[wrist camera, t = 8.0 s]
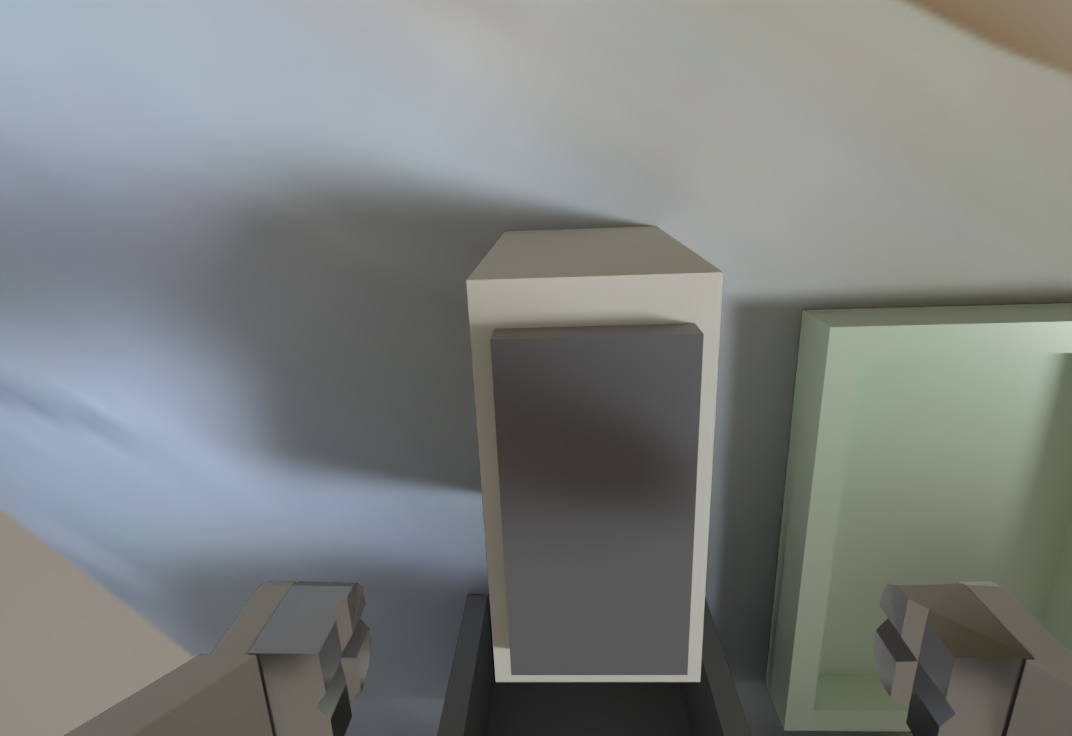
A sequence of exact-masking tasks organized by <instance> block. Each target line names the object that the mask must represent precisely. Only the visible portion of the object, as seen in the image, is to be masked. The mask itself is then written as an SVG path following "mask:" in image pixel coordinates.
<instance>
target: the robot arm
mask: <svg viewBox="0 0 1072 736" xmlns="http://www.w3.org/2000/svg"><path fill="white" fill-rule="evenodd" d="M364 607H365V599H364V594H363V588H362V586H360V585H359V584H358V583H345V582H302V581H298V582H292V581H268V582H266V583H264V584H261V585H260V586H259V587H258V589H257V590H256V592H255V593H254V594H253V596H252V597H251V598H250V600H249V601H248V603H247V604H246V605H245V607H244V608H243V610H242V611H241V612H240V614H239V615H238V616H237V618H236V619H235V621H234V622H233V623H232V625H231V626H230V627H229V629H228V630H227V632H226V633H225V634H224V636H223V637H222V638H221V640H220V641H219V643H218V644H217V645H216V647H215V648H214V650H213V651H212V652H211V654H200V655H198V656H197V657H195V658H193V659H192V660H190V661H188V662H187V663H185V664H183V665H182V666H180V667H178V668H177V669H175V670H173V671H172V672H170V673H168V674H166V675H165V676H163V677H162V678H160V679H158V680H156V681H155V682H153V683H151V684H150V685H148V686H146V687H145V688H143V689H141V690H140V691H138V692H136V693H135V694H133V695H131V696H130V697H128V698H126V699H124V700H123V701H121V702H119V703H118V704H116V705H114V706H113V707H111V708H109V709H108V710H106V711H104V712H103V713H101V714H99V715H98V716H96V717H94V718H93V719H91V720H89V721H88V722H86V723H84V724H83V725H81V726H79V727H78V728H76V729H74V730H72V731H71V732H69V733H67V734H66V735H64V736H344V735H345V733H346V730H347V727H348V725H349V722H350V720H351V717H352V715H351V708H350V701H351V700H352V699H353V698H354V697H355V696H357V695H358V694H359V693H360V692H361V691H362V688H363V685H364V683H365V680H366V677H367V672H368V667H369V661H370V634H369V628H368V627H367V626H366V625H365V624H364V623H363V621H362V620H361V619H360V616H361V614H362V612H363V609H364ZM880 607H881V609H882V610H883V612H884V613H885V614H886V616H887V617H888V619H887V620H886V621H885V622H883V623H882V624H881V625H880V626H879V627H878V628H877V629H876V631H875V639H874V647H873V650H874V657H875V663H876V669H877V671H878V674H879V677H880V679H881V682H882V684H883V686H884V687H885V689H886V691H887V692H888V694H889V696H890V697H891V698H892V699H894V700H895V701H897V702H898V703H900V704H901V705H903V706H904V707H905V708H907V709H908V715H907V720H906V724H907V725H908V727H909V729H910V730H911V732H912V734H913V735H914V736H1072V654H1071V653H1070V652H1069V651H1068V650H1067V649H1066V648H1065V647H1064V646H1063V645H1062V644H1061V643H1060V642H1059V641H1058V640H1057V639H1056V638H1055V637H1054V636H1053V635H1052V634H1051V633H1050V632H1049V631H1048V630H1047V629H1046V628H1044V627H1043V626H1042V625H1041V624H1040V623H1039V622H1038V621H1037V620H1036V619H1035V618H1034V617H1033V616H1032V615H1031V614H1030V613H1029V612H1028V611H1027V610H1026V609H1025V608H1024V607H1023V606H1022V605H1021V604H1020V603H1019V602H1017V601H1016V600H1015V599H1014V598H1013V597H1012V596H1011V595H1010V594H1009V593H1008V592H1007V591H1006V590H1005V589H1004V588H1003V587H1002V586H1000V585H998V584H996V583H994V582H991V581H985V582H956V583H944V584H887V585H886V587H885V588H884V590H883V592H882V596H881V602H880Z"/></svg>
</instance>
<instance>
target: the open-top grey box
mask: <svg viewBox="0 0 1072 736" xmlns="http://www.w3.org/2000/svg"><path fill="white" fill-rule="evenodd" d="M437 736H751V734H750V731H749V728H748V725H747V722H746V719H745V716H744V713H743V710H742V707H741V704H740V701H739V698H738V695H737V692H736V689H735V686H734V683H733V680H732V677H731V673H730V670H729V667H728V664H727V661H726V658H725V655H724V652H723V649H722V646H721V643H720V640H719V637H718V634H717V631H716V628H715V625H714V622H713V619H712V616H711V613H710V610H709V607H708V604H707V601H706V598H705V607H704V625H703V642H702V660H701V678H700V682H680V683H494V681H493V667H492V653H491V640H490V626H489V612H488V598H487V595H468V596H467V600H466V605H465V610H464V614H463V619H462V624H461V628H460V633H459V637H458V642H457V647H456V651H455V656H454V661H453V665H452V670H451V675H450V679H449V684H448V688H447V693H446V698H445V702H444V707H443V712H442V716H441V721H440V725H439V730H438V735H437Z"/></svg>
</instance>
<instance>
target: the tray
mask: <svg viewBox="0 0 1072 736" xmlns="http://www.w3.org/2000/svg"><path fill="white" fill-rule="evenodd" d="M985 581H991V582H994V583H996V584H998V585H1000V586H1002V587H1003V588H1004V589H1005V590H1006V591H1007V592H1008V593H1009V594H1010V595H1011V596H1012V597H1013V598H1014V599H1015V600H1016V601H1017V602H1019V603H1020V604H1021V605H1022V606H1023V607H1024V608H1025V609H1026V610H1027V611H1028V612H1029V613H1030V614H1031V615H1032V616H1033V617H1034V618H1035V619H1036V620H1037V621H1038V622H1039V623H1040V624H1041V625H1042V626H1043V627H1044V628H1046V629H1047V630H1048V631H1049V632H1050V633H1051V634H1052V635H1053V636H1054V637H1055V638H1056V639H1057V640H1058V641H1059V642H1060V643H1061V644H1062V645H1063V646H1064V647H1065V648H1066V649H1067V650H1068V651H1069V652H1070V653H1071V654H1072V303H1055V304H1017V305H978V306H940V307H902V308H863V309H825V310H803V312H802V322H801V332H800V342H799V352H798V362H797V372H796V382H795V392H794V402H793V412H792V422H791V432H790V442H789V452H788V462H787V472H786V482H785V492H784V502H783V512H782V522H781V532H780V543H779V553H778V563H777V573H776V583H775V593H774V603H773V613H772V623H771V633H770V643H769V653H768V663H767V673H766V686H767V689H768V691H769V694H770V696H771V699H772V701H773V704H774V706H775V709H776V712H777V714H778V717H779V719H780V722H781V724H782V727H783V730H784V731H911V730H910V729H909V727H908V725H907V724H906V720H907V715H908V709H907V708H905V707H904V706H903V705H901V704H900V703H898V702H897V701H895V700H894V699H892V698H891V697H890V696H889V694H888V692H887V691H886V689H885V687H884V686H883V684H882V682H881V679H880V677H879V674H878V671H877V669H876V663H875V657H874V650H873V647H874V639H875V631H876V629H877V628H878V627H879V626H880V625H881V624H882V623H883V622H885V621H886V620H887V619H888V617H887V616H886V614H885V613H884V612H883V610H882V609H881V607H880V602H881V596H882V592H883V590H884V588H885V587H886V585H887V584H944V583H956V582H985Z"/></svg>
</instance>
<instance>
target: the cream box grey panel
mask: <svg viewBox="0 0 1072 736" xmlns="http://www.w3.org/2000/svg"><path fill="white" fill-rule="evenodd" d="M466 285H467V298H468V312H469V326H470V339H471V353H472V367H473V380H474V394H475V407H476V421H477V435H478V448H479V462H480V476H481V489H482V503H483V516H484V530H485V544H486V557H487V571H488V585H489V598H490V612H491V625H492V639H493V653H494V666H495V680H496V682H700V678H701V660H702V642H703V625H704V607H705V589H706V571H707V553H708V535H709V518H710V500H711V482H712V464H713V446H714V428H715V411H716V393H717V375H718V357H719V339H720V322H721V304H722V286H723V272H722V271H721V270H719V269H718V268H716V267H715V266H713V265H712V264H711V263H709V262H708V261H706V260H705V259H703V258H702V257H700V256H699V255H697V254H696V253H695V252H693V251H692V250H690V249H689V248H687V247H686V246H684V245H683V244H681V243H680V242H679V241H677V240H676V239H674V238H673V237H671V236H670V235H668V234H667V233H666V232H664V231H663V230H661V229H660V228H658V227H657V226H644V227H615V228H586V229H557V230H529V231H505V232H504V233H503V234H502V235H501V237H500V238H499V239H498V241H497V242H496V243H495V244H494V246H493V247H492V248H491V249H490V251H489V252H488V253H487V254H486V256H485V257H484V258H483V260H482V261H481V262H480V263H479V265H478V266H477V267H476V268H475V270H474V271H473V272H472V273H471V275H470V276H469V277H468V279H467V280H466Z"/></svg>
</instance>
